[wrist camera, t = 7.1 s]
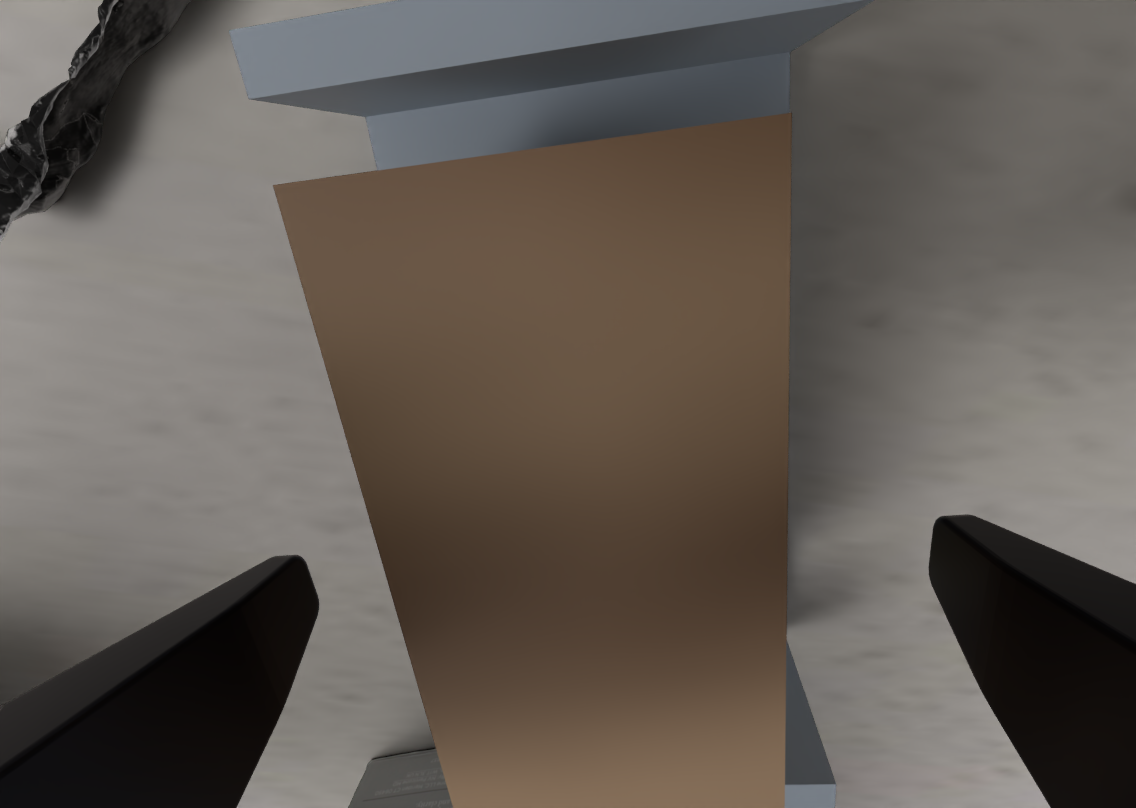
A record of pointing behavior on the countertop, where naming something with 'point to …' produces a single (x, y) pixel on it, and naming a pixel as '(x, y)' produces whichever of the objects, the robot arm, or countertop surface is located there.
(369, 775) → the skincare box
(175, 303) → the countertop surface
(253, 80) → the peg stand
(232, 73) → the countertop surface
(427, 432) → the brown rectangular block
